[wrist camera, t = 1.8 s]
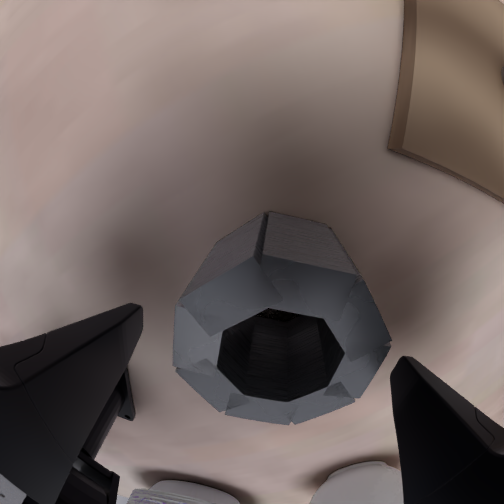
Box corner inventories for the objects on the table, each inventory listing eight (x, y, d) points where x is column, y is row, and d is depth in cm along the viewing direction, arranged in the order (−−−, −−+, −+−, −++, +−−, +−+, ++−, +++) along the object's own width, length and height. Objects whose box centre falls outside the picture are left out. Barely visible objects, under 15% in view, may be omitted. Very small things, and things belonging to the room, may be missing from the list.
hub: (325, 351, 13) (337, 428, 9) (202, 327, 14) (172, 400, 9) (369, 235, 11) (419, 288, 7) (221, 201, 11) (181, 236, 7)
